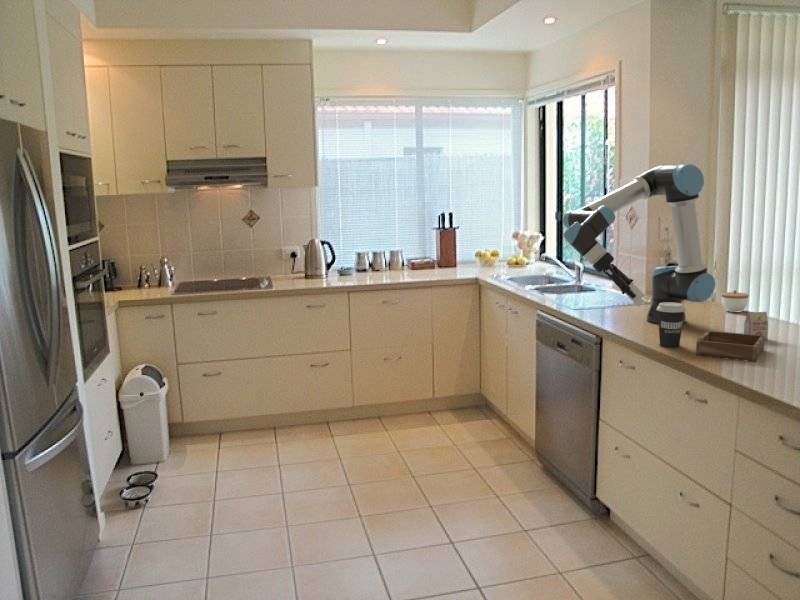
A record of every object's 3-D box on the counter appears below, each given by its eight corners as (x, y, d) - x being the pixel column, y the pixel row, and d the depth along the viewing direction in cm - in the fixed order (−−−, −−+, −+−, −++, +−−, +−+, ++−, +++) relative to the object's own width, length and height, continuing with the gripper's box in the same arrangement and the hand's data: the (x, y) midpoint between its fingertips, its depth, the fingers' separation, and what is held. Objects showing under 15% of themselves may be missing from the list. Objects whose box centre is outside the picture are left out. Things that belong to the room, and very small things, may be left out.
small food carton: (743, 338, 254) (745, 311, 253) (762, 337, 254) (763, 310, 253) (748, 340, 251) (750, 313, 249) (767, 339, 251) (768, 312, 249)
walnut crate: (707, 344, 246) (708, 330, 245) (763, 350, 236) (764, 335, 235) (695, 355, 232) (696, 340, 231) (755, 361, 221) (756, 346, 221)
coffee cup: (650, 346, 246) (652, 304, 243) (661, 341, 253) (663, 300, 250) (677, 350, 239) (679, 307, 237) (688, 344, 246) (689, 303, 244)
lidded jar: (721, 313, 301) (722, 291, 300) (719, 308, 311) (720, 288, 310) (748, 314, 297) (750, 292, 296) (746, 309, 307) (747, 288, 306)
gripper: (594, 261, 262) (634, 301, 259) (588, 269, 239) (632, 314, 236) (609, 247, 259) (650, 288, 257) (604, 254, 236) (649, 299, 233)
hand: (641, 300), depth 246 cm, fingers open, 13 cm apart
